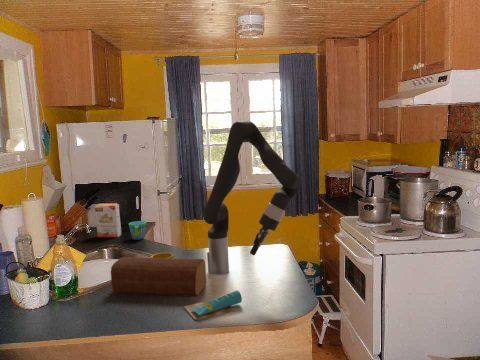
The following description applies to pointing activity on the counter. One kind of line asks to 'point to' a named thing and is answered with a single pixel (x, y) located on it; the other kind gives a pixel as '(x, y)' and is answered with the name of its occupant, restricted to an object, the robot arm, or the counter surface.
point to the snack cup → (137, 229)
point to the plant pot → (163, 255)
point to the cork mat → (198, 317)
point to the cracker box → (108, 220)
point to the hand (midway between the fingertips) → (252, 254)
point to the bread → (158, 276)
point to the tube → (219, 303)
